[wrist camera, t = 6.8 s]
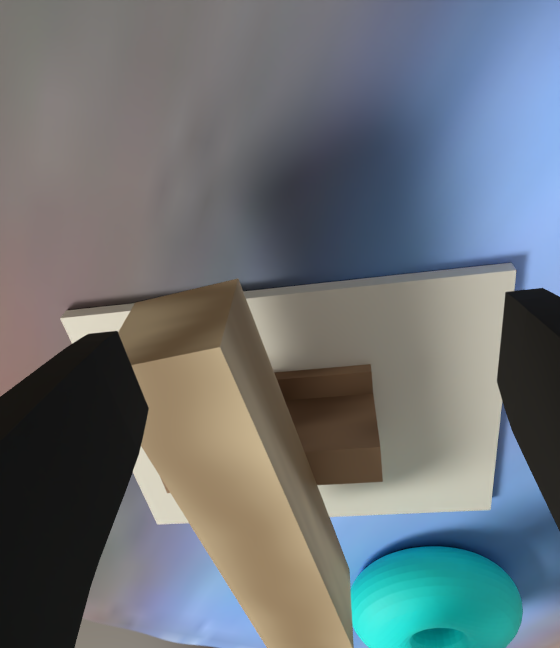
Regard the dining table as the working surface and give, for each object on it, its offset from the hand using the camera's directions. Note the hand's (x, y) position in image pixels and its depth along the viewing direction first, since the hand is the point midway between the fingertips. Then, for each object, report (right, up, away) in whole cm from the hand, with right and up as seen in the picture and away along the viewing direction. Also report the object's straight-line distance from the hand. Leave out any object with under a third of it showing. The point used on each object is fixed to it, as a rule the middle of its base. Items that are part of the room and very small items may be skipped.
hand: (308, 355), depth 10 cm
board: (0, -4, +14) cm, 15 cm away
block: (-1, -3, +14) cm, 14 cm away
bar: (-1, -5, +10) cm, 11 cm away
